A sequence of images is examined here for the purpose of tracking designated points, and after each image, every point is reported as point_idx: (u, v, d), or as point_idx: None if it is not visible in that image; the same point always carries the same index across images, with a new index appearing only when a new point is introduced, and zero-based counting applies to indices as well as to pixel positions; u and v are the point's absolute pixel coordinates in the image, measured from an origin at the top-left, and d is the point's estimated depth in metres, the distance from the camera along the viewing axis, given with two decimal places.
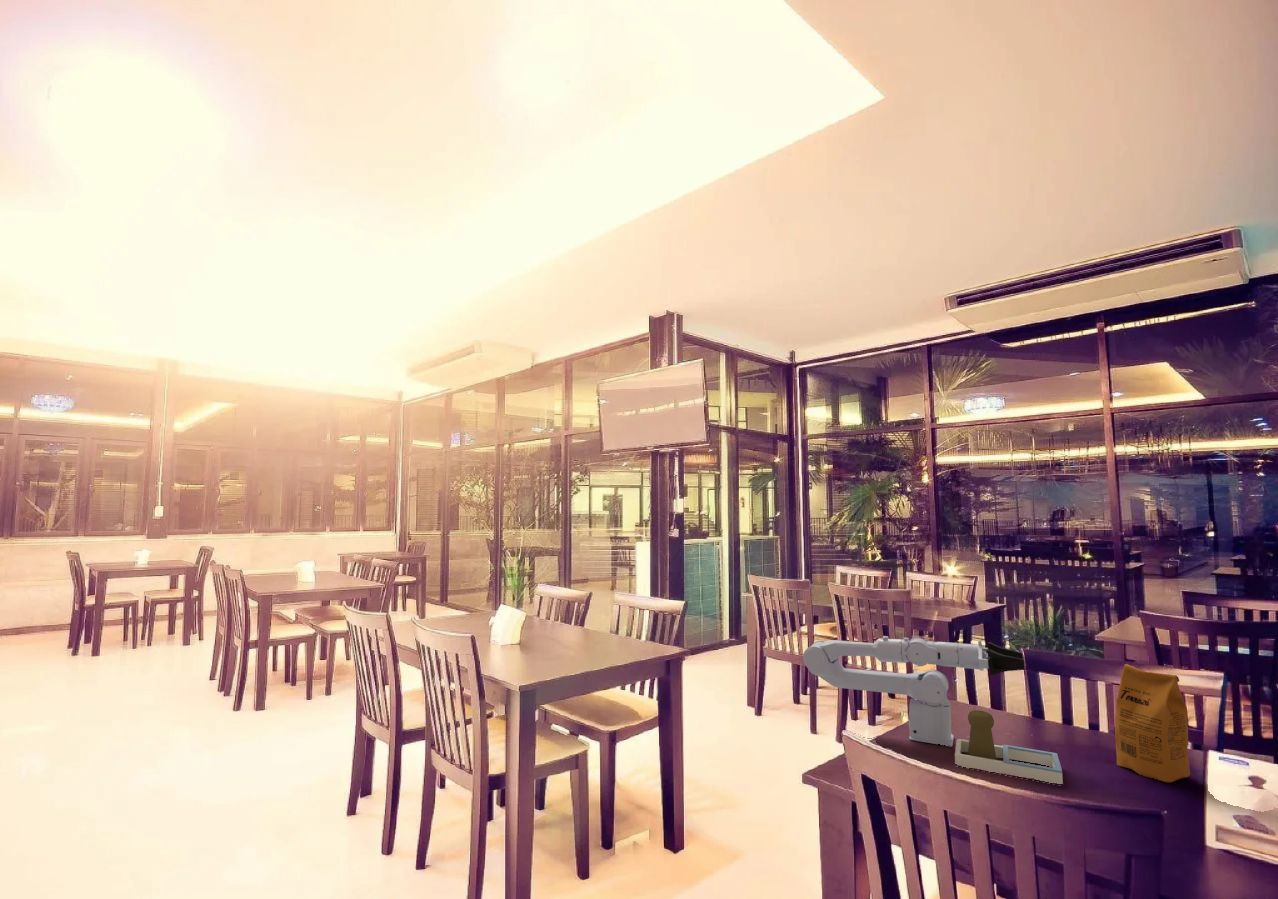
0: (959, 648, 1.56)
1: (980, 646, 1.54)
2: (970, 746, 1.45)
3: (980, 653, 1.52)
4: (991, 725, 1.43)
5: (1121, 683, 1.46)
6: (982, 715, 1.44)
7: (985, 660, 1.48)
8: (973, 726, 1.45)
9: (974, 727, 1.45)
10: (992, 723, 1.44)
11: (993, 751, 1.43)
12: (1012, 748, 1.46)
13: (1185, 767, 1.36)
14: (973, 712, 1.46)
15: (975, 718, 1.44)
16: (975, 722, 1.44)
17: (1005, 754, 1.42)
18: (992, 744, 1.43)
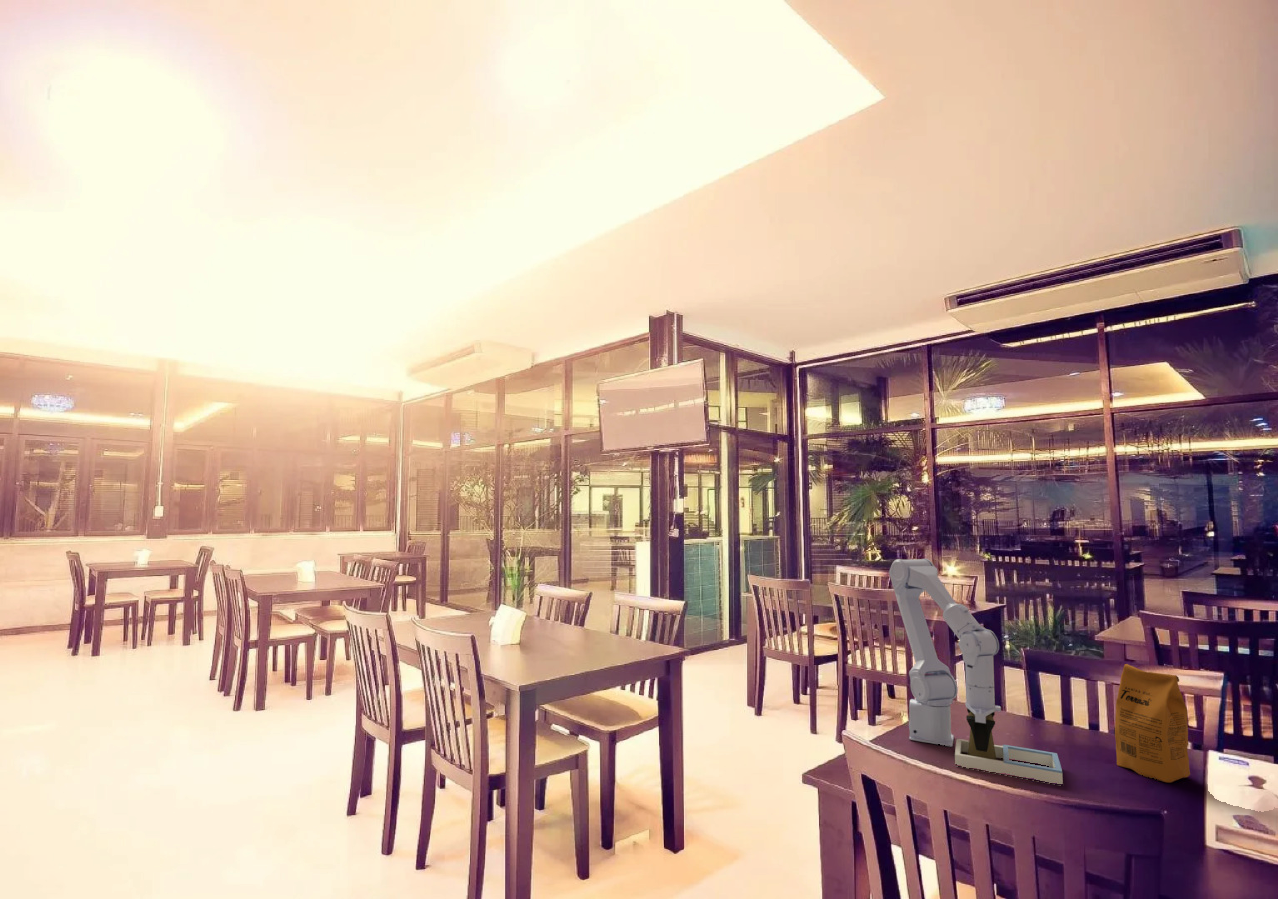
0: (990, 689, 1.43)
1: (994, 710, 1.43)
2: (970, 746, 1.45)
3: (989, 713, 1.41)
4: None
5: (1121, 683, 1.46)
6: None
7: (984, 721, 1.39)
8: None
9: None
10: None
11: (993, 751, 1.43)
12: (1012, 748, 1.46)
13: (1185, 767, 1.36)
14: None
15: None
16: None
17: (1005, 754, 1.42)
18: (992, 744, 1.43)
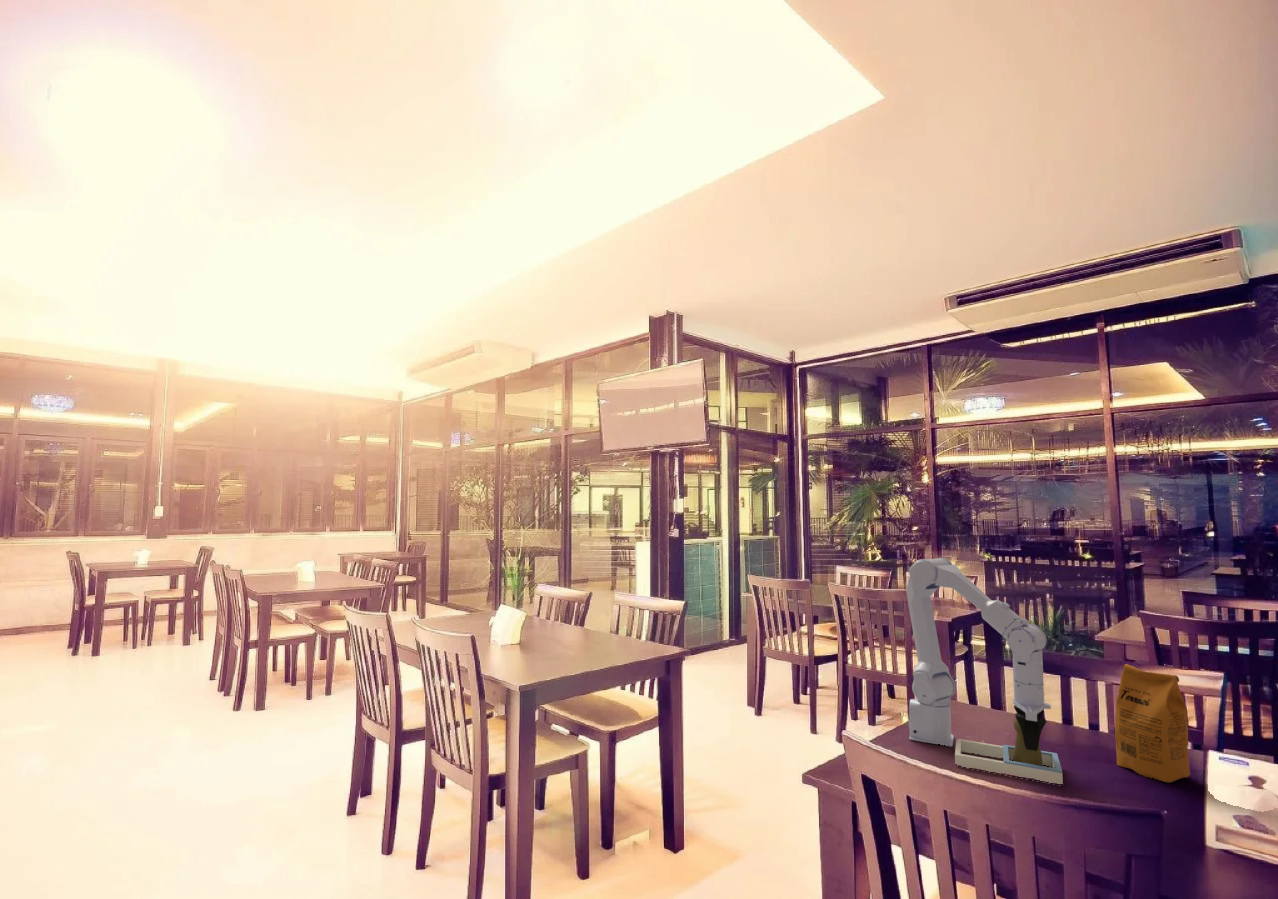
0: (1039, 686, 1.39)
1: (1044, 708, 1.39)
2: (1016, 753, 1.41)
3: (1039, 710, 1.37)
4: None
5: (1121, 683, 1.46)
6: None
7: (1036, 718, 1.35)
8: (1020, 733, 1.41)
9: (1021, 734, 1.40)
10: None
11: (1040, 759, 1.39)
12: (1012, 748, 1.46)
13: (1185, 767, 1.36)
14: None
15: None
16: None
17: (1005, 754, 1.42)
18: (1039, 752, 1.39)
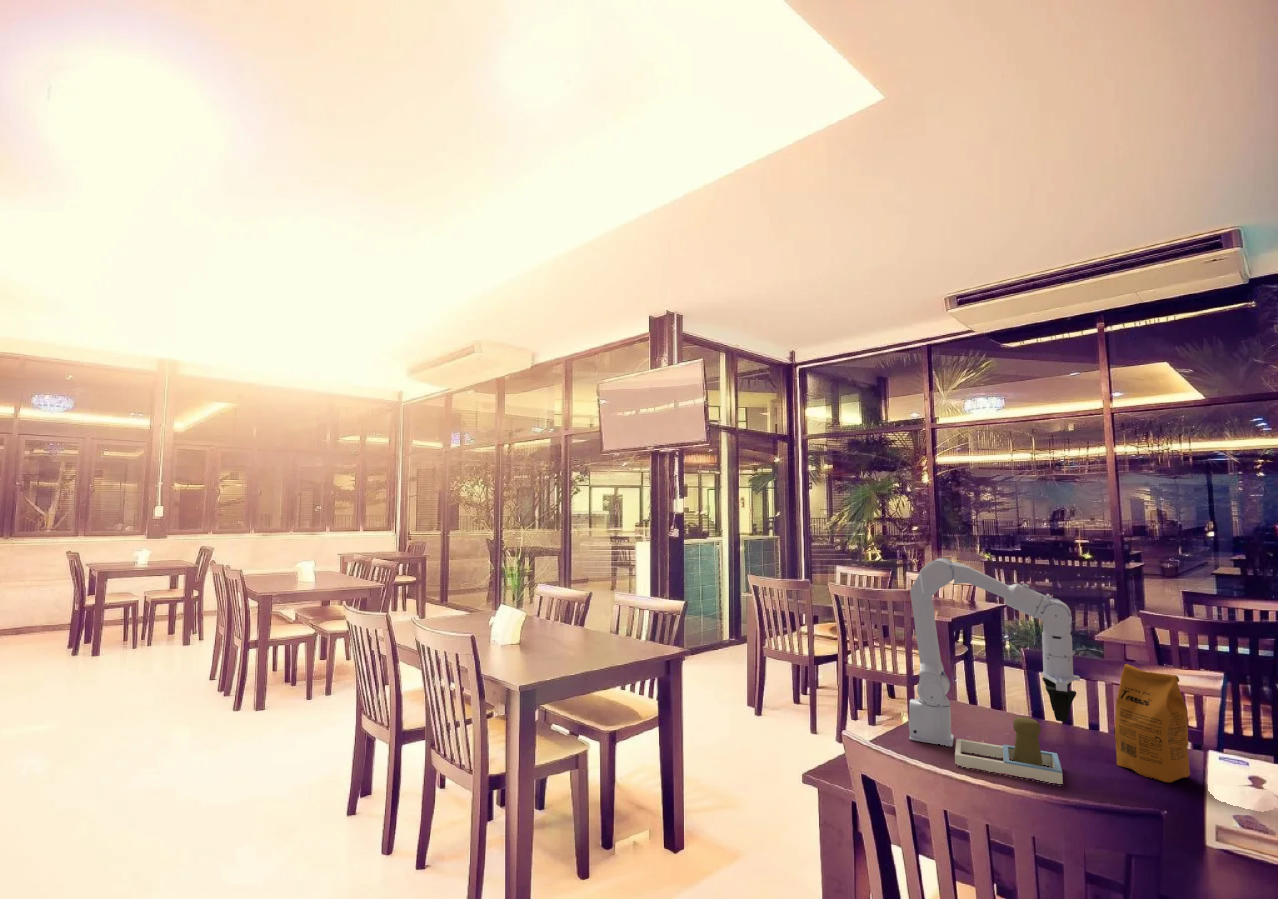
0: (1069, 658, 1.44)
1: (1073, 679, 1.43)
2: (1016, 754, 1.41)
3: (1069, 681, 1.41)
4: (1038, 732, 1.39)
5: (1121, 683, 1.46)
6: (1028, 722, 1.40)
7: (1066, 689, 1.39)
8: (1019, 733, 1.41)
9: (1020, 735, 1.40)
10: (1039, 730, 1.39)
11: (1040, 759, 1.39)
12: (1012, 748, 1.46)
13: (1185, 767, 1.36)
14: (1019, 719, 1.42)
15: (1022, 725, 1.40)
16: (1021, 729, 1.40)
17: (1005, 754, 1.42)
18: (1039, 752, 1.39)
